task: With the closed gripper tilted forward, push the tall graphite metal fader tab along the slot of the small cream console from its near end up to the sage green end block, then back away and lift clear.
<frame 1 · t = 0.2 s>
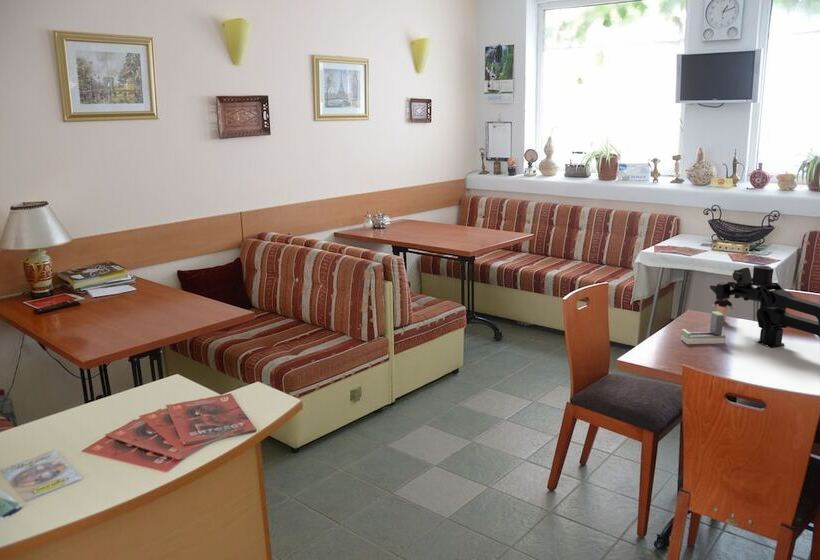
hand: (719, 284, 268), 16 cm above the table, tool horizontal, fingers open, 9 cm apart
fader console: (702, 341, 253), on the table
grandmother figurine: (721, 321, 277), on the table
fader tab: (716, 324, 251), point 6 cm above the table, slide at 0.0 cm
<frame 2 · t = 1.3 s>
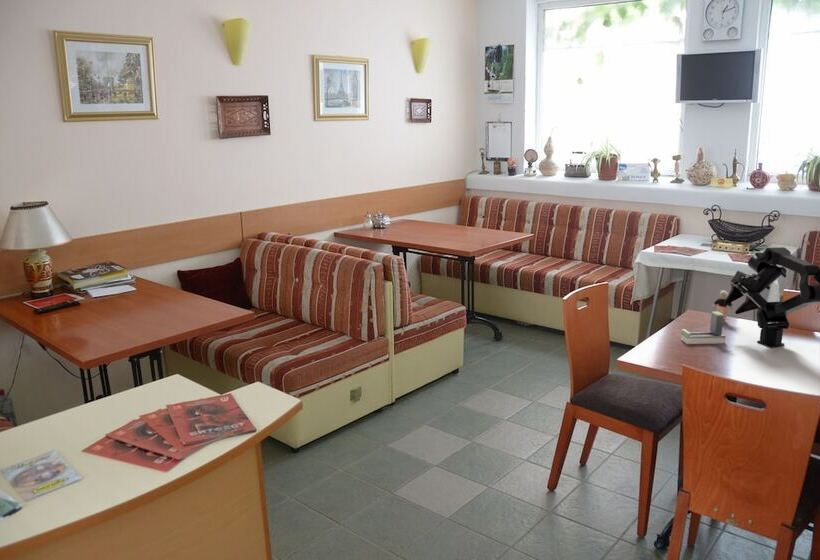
hand: (730, 308, 253), 12 cm above the table, tool tilted 45°, fingers open, 9 cm apart
nothing on the table moved.
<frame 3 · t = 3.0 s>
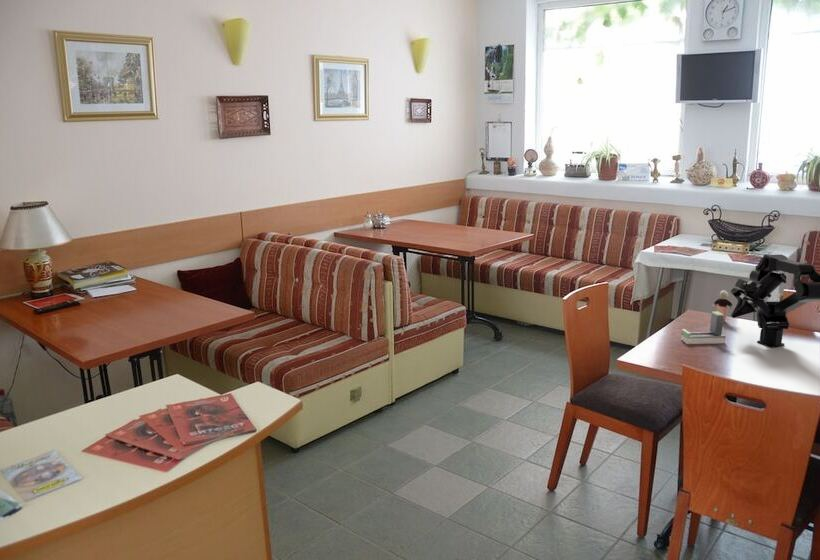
hand: (732, 316, 251), 9 cm above the table, tool tilted 45°, fingers closed
nothing on the table moved.
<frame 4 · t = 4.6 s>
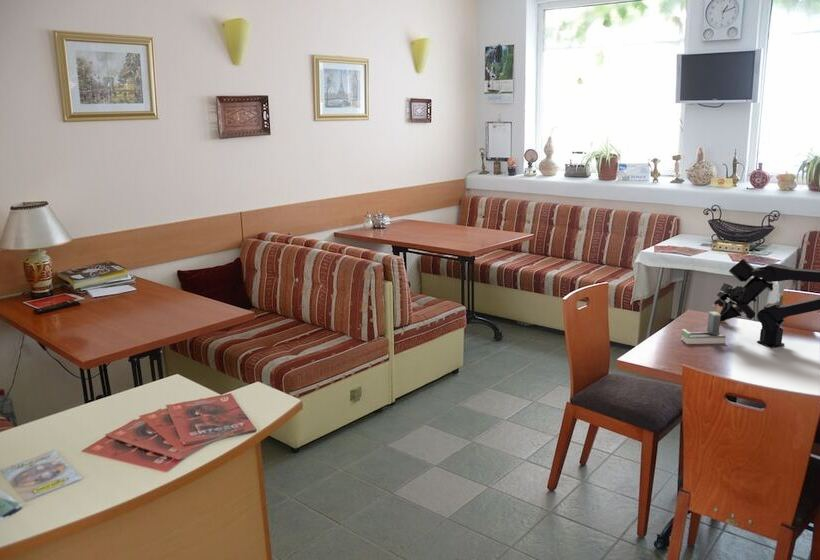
hand: (717, 320, 251), 8 cm above the table, tool tilted 45°, fingers closed
fader tab: (713, 324, 251), point 6 cm above the table, slide at 1.1 cm, touching gripper
everything else where it was.
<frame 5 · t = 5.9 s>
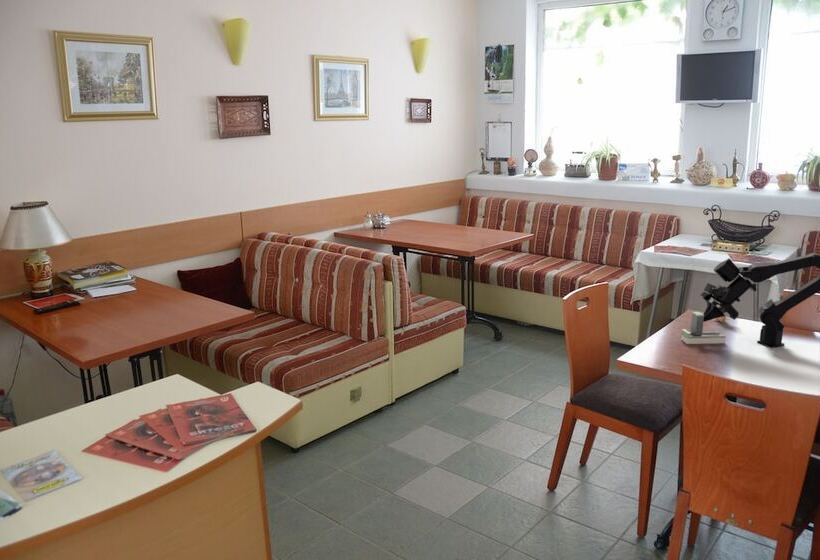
hand: (701, 321, 251), 8 cm above the table, tool tilted 45°, fingers closed, pressing on fader tab
fader tab: (697, 324, 251), point 6 cm above the table, slide at 7.2 cm, touching gripper
everything else where it was.
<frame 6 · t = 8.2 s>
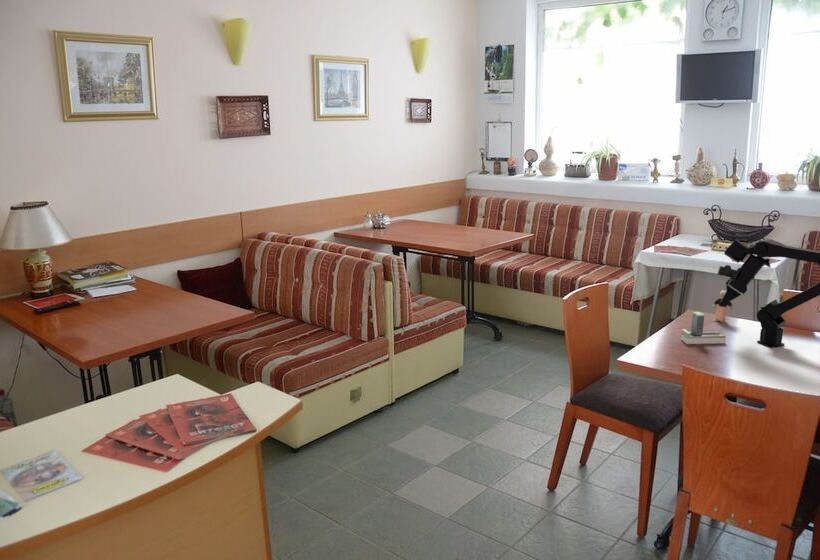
hand: (720, 304, 253), 13 cm above the table, tool tilted 35°, fingers closed
fader tab: (697, 324, 251), point 6 cm above the table, slide at 7.0 cm
everything else where it was.
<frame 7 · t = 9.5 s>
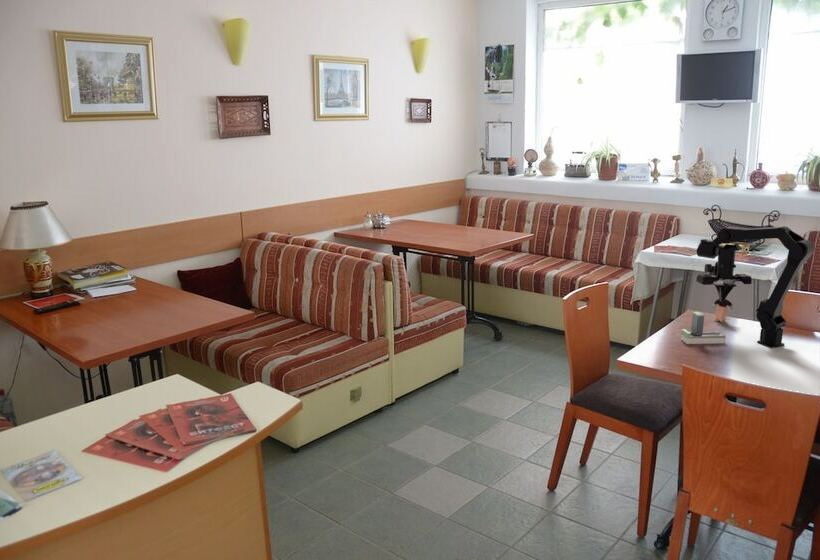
hand: (721, 301, 260), 12 cm above the table, tool pointing down, fingers closed
nothing on the table moved.
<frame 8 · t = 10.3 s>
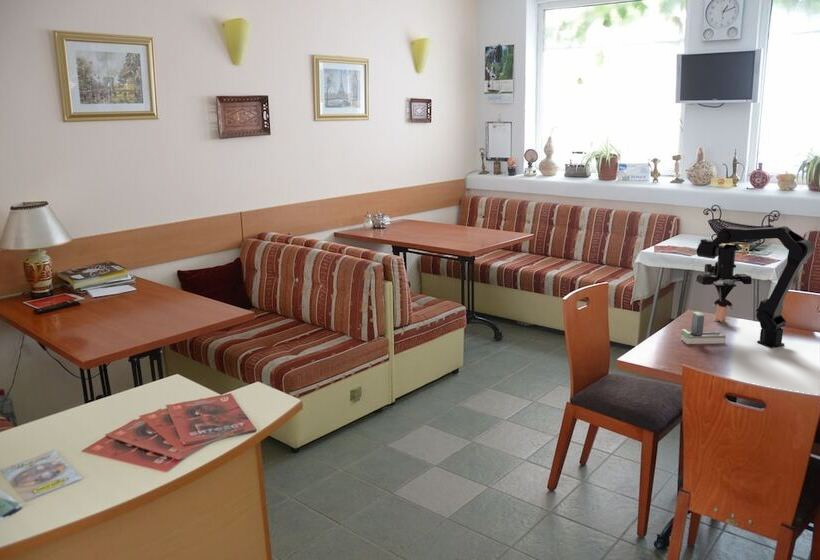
hand: (721, 301, 260), 12 cm above the table, tool pointing down, fingers closed
nothing on the table moved.
at the end: fader tab slide at 7.0 cm; the gripper is holding nothing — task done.
